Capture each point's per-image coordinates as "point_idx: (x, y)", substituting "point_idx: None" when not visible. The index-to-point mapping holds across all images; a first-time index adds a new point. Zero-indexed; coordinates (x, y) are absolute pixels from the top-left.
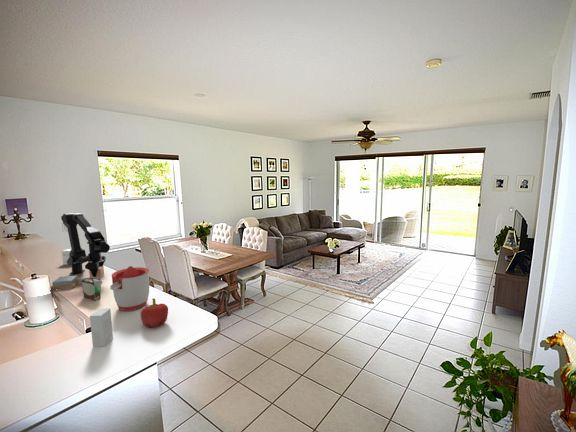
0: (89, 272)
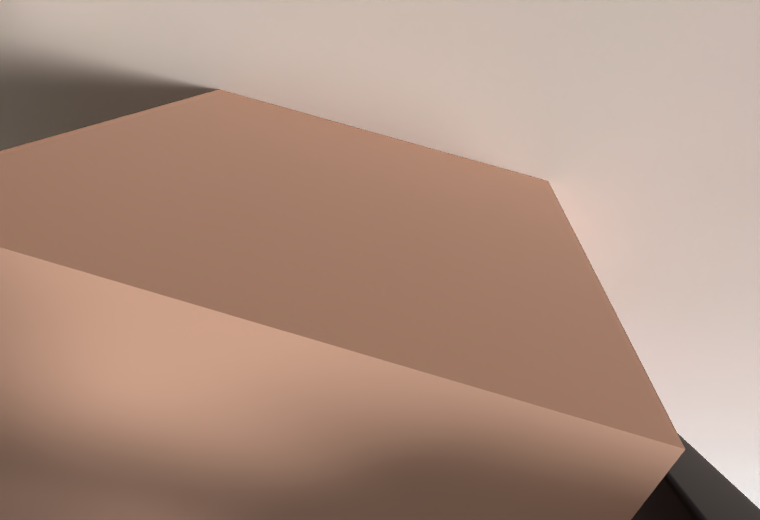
0: (26, 149)
